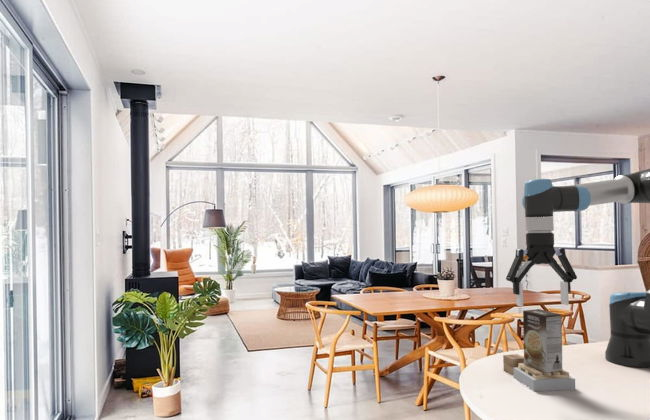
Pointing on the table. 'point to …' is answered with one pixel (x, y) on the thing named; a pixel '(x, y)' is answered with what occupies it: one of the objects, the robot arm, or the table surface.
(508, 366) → the light brown cube
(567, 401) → the table surface
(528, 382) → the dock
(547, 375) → the pallet
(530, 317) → the coffee box
